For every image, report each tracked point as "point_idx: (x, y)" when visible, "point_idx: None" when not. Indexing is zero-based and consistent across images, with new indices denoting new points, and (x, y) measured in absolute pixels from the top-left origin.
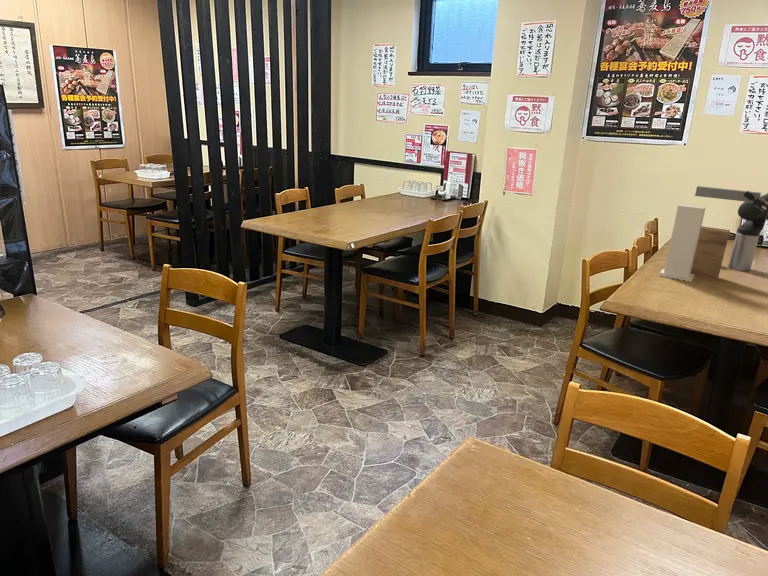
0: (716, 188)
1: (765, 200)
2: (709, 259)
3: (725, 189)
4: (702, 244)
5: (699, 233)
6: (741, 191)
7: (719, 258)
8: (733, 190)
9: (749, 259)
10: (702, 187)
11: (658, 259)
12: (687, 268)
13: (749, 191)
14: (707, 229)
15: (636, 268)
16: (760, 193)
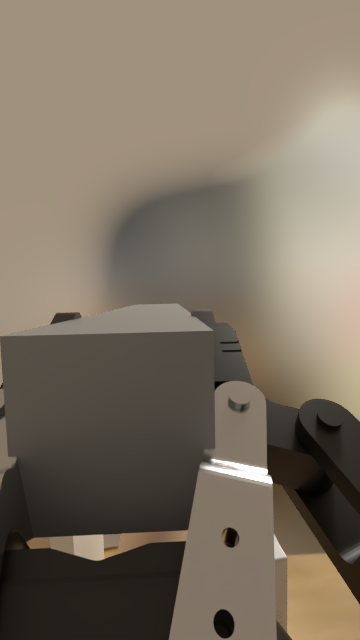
0: (151, 306)
1: (219, 591)
2: None
3: (142, 308)
4: None
5: (57, 539)
6: (94, 314)
7: None
8: (123, 311)
9: None
10: (133, 305)
11: (292, 566)
12: None
13: (182, 316)
14: (120, 542)
15: (113, 548)
16: (4, 335)
